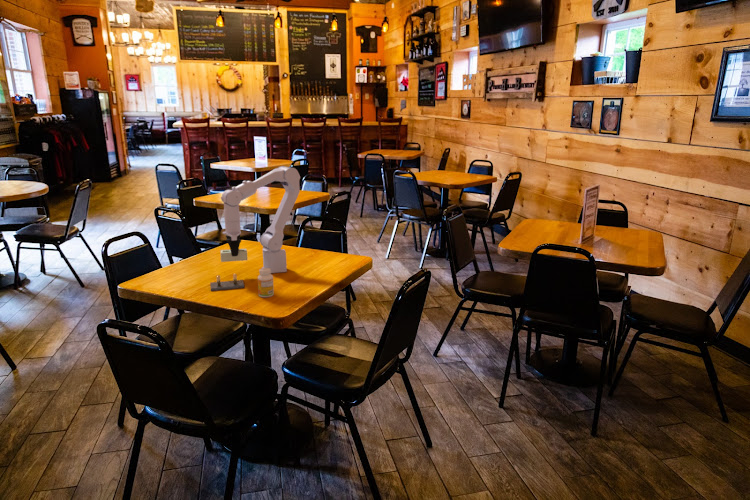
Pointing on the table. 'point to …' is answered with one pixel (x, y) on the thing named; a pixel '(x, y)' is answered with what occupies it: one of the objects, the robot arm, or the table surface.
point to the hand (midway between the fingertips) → (234, 254)
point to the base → (227, 284)
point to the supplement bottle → (265, 283)
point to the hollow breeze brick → (228, 256)
